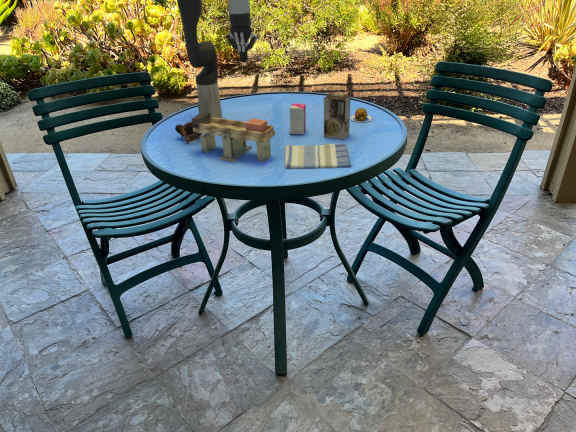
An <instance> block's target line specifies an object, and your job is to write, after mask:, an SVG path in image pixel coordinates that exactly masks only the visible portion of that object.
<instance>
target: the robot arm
mask: <svg viewBox="0 0 576 432" xmlns="http://www.w3.org/2000/svg"><path fill="white" fill-rule="evenodd" d="M176 1H177V2H176V4H177V7H178V9H179V15H180V19H181V24H182V29H183V35H184V41H185V49H186V55H187V59H188V62H189V64H190V66H192V68H194V69H200V68H202V69H201V71H200V72H199V73H198V74H197V75H195V84H196V85H195V86H196V90H197V96H198V100H197V101H196V103H197V109H198V110H197V111H198V114H200V113H202V112H210V114H211V117H215V118H222V119H223V112H222V105H221V97H220V89H219V88H220V87H219V81H218V78H219V77H218V76H219V66H218V55H217V50H216V48H215V45H214V44H213V43H212V42H210V41H208V40H207V41H202V42H198V41H199V40H198V39H199V38H198V26H199V22H200V21H199V20H200V17H201V13H202V9H203V3H202V2H203V1H202V0H176ZM227 6H228V17H229V23H230V24H229V25H230V32H229V33H228V34H227V35H225V39H226V40H227V41H228V43H229V44H230V45H231V47H232V48H233V50H235V51H238V56H239V57H238V58H239V61H240V63H247V62H248V59H249V56H248V51H251V50H252V49H253V47H254V46H255V44H256V42H257V41H258V39H259V36H258V35H257V34H255V33H253V29H252V17H251V6H250V0H228V1H227ZM249 39H250V40H249Z"/></svg>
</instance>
